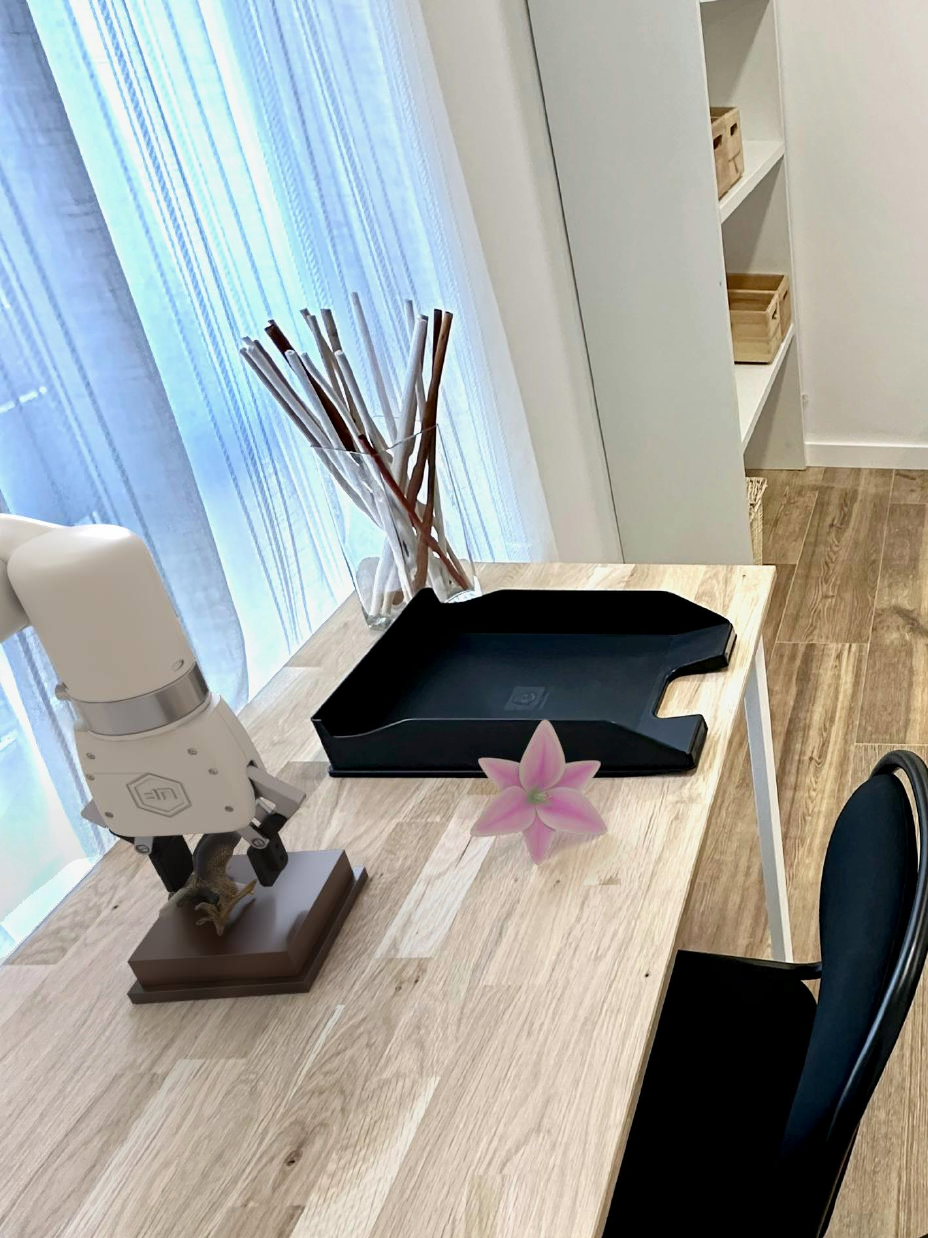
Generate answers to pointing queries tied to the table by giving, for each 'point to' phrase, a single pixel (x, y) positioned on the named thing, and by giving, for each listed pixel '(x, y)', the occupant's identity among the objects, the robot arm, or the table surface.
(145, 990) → the display stand
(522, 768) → the lily
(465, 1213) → the table surface
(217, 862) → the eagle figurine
